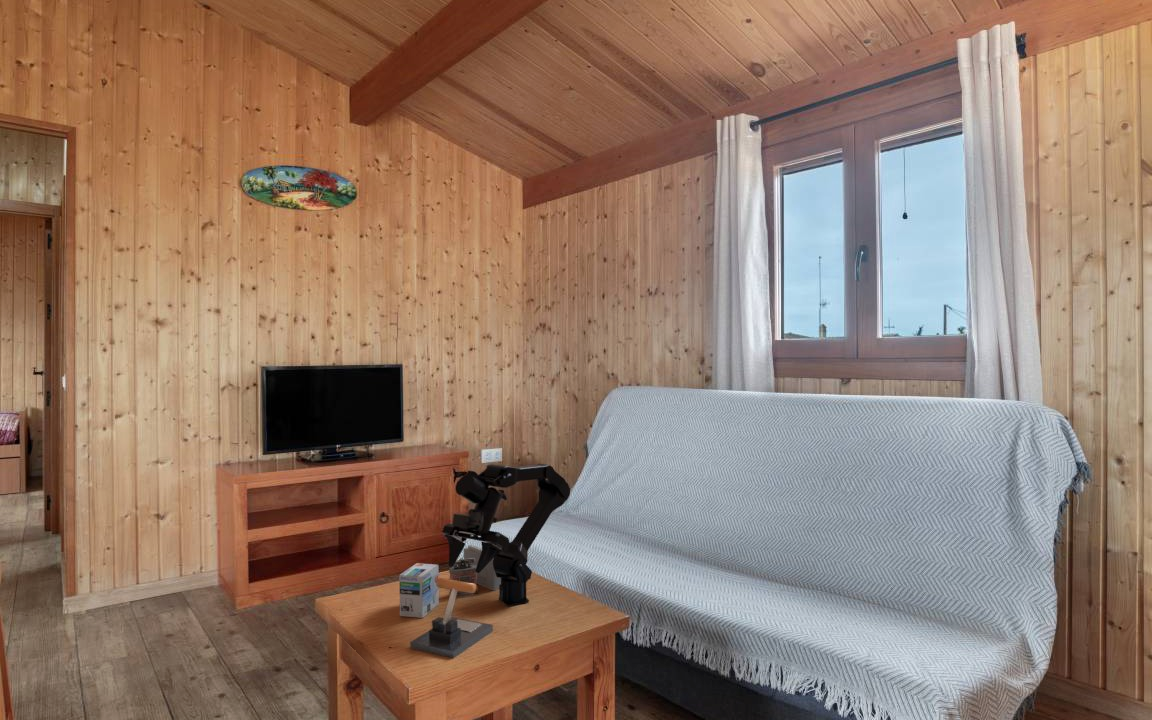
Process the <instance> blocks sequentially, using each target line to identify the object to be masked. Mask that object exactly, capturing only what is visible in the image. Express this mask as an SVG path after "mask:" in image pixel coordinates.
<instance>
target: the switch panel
mask: <svg viewBox="0 0 1152 720" xmlns="http://www.w3.org/2000/svg"><path fill="white" fill-rule="evenodd" d="M443 619H444V617H439V616H438V617H437V618H435V619H433V620H431V621H432V622H431V626H432V627H431V628H430V629H429V630H428V631H426V632H425V633H423V634H421V635H420V636H418V637H416V638H414V639H413V640H411V641H410V647H409V648H410V649H412V650H416V651H420V652H425V653H428V654H429V653H430V654H433V655H437V656H442V657H447V658H451V659H454V658H456V657H457V656H459V655H460V654H462V653H464V652H465V651H466V650H467V649H470V647H472V646H473V645H475V644H476V643H477V642H479V641H481V640H482V639H483V638H485V637H486V636H488V635H489V634H491V633H492V632H493V631H494V630H493V629H494V628H493V627H494V625H493V624H489V623H486V622H485V623H484V622H480V621H475V620H469V619H464V618H460V617H456V616H450V620H449V622H447V623H446V625H444V624H443Z"/></svg>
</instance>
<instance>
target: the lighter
mask: <svg viewBox="0 0 1152 720" xmlns="http://www.w3.org/2000/svg"><path fill="white" fill-rule="evenodd" d="M470 563H475V558H467V559H464V557H461V558H459V559H457V560H456V562H455V564H454V565H453V567H450V568H449V569H448V573H449V579H450V580H456V581H462V582H468V583H474V584H476V591H475V592H474V593H468V592H462V591H457V595H456V598H462V597H470V596H475V595H477V594H479V590H478V584H477V573H476V567H477V565H471V564H470ZM466 564H468V566H466ZM451 591H452V590H450V589H449V595H448V596H449V597H450V594H451Z"/></svg>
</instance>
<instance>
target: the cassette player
mask: <svg viewBox="0 0 1152 720" xmlns="http://www.w3.org/2000/svg"><path fill="white" fill-rule="evenodd" d="M481 552H482V547H479V546H477V545H473V544H469V545H468V546H467V547H465V548H463V559H467V558H475V563H470V564H471V565H477V564H478V561H479V558H480V555H481ZM493 559H494V558H493ZM493 559H492V560H491V561H490V562H489V563H488V564H487V565H486V566H485V567H484V569H483V570H482V571H481V572H480V573H477V585H480V586H481V587H482V586H483V587H484V588H486V589H489V590H492V591H493V592H494V591H499V585H500V584H501V578H498V577H497V576H496V573H495V570H494V567H493ZM466 566H468V564H466Z"/></svg>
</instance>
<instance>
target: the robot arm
mask: <svg viewBox="0 0 1152 720" xmlns="http://www.w3.org/2000/svg"><path fill="white" fill-rule="evenodd" d="M533 480H536V486H537V488H538V489H539V490H538V493H537V497H538V500H537V503H536V505H535V506H534V507H533V509H532V511H531V512H530V514H529V515H528V517H526V520H525V522H524V523H523V524H522V526H521V528H520V529H519V530H518V532H517V533H516V535H515V537H514V538H513V539H512V541H510V538H509V537H507V536H505V535H504V534H502V533H501V532H499V531H493V530H490V529H491V528H492V525H493V523H494V524H496V523H497V520H498V518H497V517H496V513H497V511H498V509H499V505H500V503H501V501H507V500H508V496H507V495H506V494H505V490H503V489H508V488H510V487H512V486H515V485H516V484H517V483H518V482H525V481H533ZM496 487H497V488H502V489H497V488H496ZM455 493H456V494H457V495H459V496H460V497H462V498H464V499H466V500H467V501H468V502H470V503H471V504H475V506H474V508H473V509H472V508H470V509H469V510H468V512H467V513H453V516H452V523H447V524H444V526H443V528H442V532H441V534H443V536H444V538H445V539H446V540H447V542H448V567H450V568H454V564H455V562H456V560H459V559H458V558H459V557H460V554H461V553H462V552H463V551H464V547H465V546H466V543H465V541H466V540H467V539H468V540H469V539H470V540H473V541H480V543H481V548H482V552H481V555H480V558H479V561H478V564H477V567H476V573H480V572H481V571H482V570H483V569H484V567H485V566H486V565H487V564H488V563H489V562H490V561H491V560H492V559H493V558H494V559H493V567H494V570H495V573H496V576H497V577H498V578H501V584H500V585H499V590H498V591H499V596H498V600H499V601H500V602H501V603H503V604H504V605H505V606H506V607H511V606H515V605H520V604H524V603H525V604H526V603H529V602H530V599H529V598H528V597H527V583H528V580H531V577H532V573H533V570H532V569H531V568H530V567H529V566H528V565H527V563H528V552H529V550H530V547H531V546H532V544H533V542H534V541H535V540H536V538H537V536H538V535H539V533H540V532H541V530H542V529H543V527H544V526H545V524H546V522H547V521H548V520H549V518H550V516H551V515H552V513H553V512H554V511H555V510H557V509H559V508H560V507H562V506H563V505H564V504H565V503H566V502H567V500H568V499H569V497H570V495H571V487H570V485H569V483H568V482H567V481H566V479H565V478H564V477H562V476H561V474H559V473H558V472H557V471H556V470H555V468H554V466H551V465H550V464H545V463H537V464H530V465H521V466H509V465H501V464H493V463H490V464H488V465H487V466H486V467H485V469H484V470H483V471H481V472H480V473H479V474H478V473H477V472H475V470H468V471H467V472H466V474H464V475H463V476H461V477H460V478H459V479H458V480H457V482H456V485H455Z"/></svg>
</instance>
